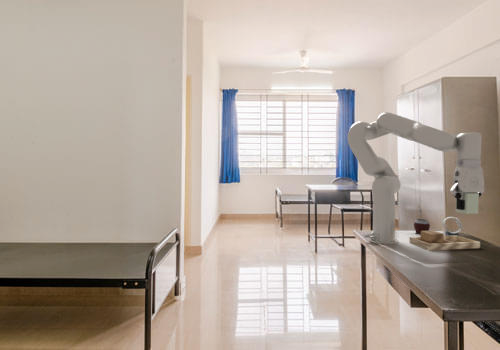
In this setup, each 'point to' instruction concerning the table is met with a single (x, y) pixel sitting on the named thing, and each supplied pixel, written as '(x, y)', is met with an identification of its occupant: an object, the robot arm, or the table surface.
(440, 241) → the walnut block
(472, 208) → the sage block
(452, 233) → the watch
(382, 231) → the robot arm
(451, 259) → the table surface
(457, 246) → the slot tray
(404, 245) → the table surface
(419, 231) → the mate gourd
